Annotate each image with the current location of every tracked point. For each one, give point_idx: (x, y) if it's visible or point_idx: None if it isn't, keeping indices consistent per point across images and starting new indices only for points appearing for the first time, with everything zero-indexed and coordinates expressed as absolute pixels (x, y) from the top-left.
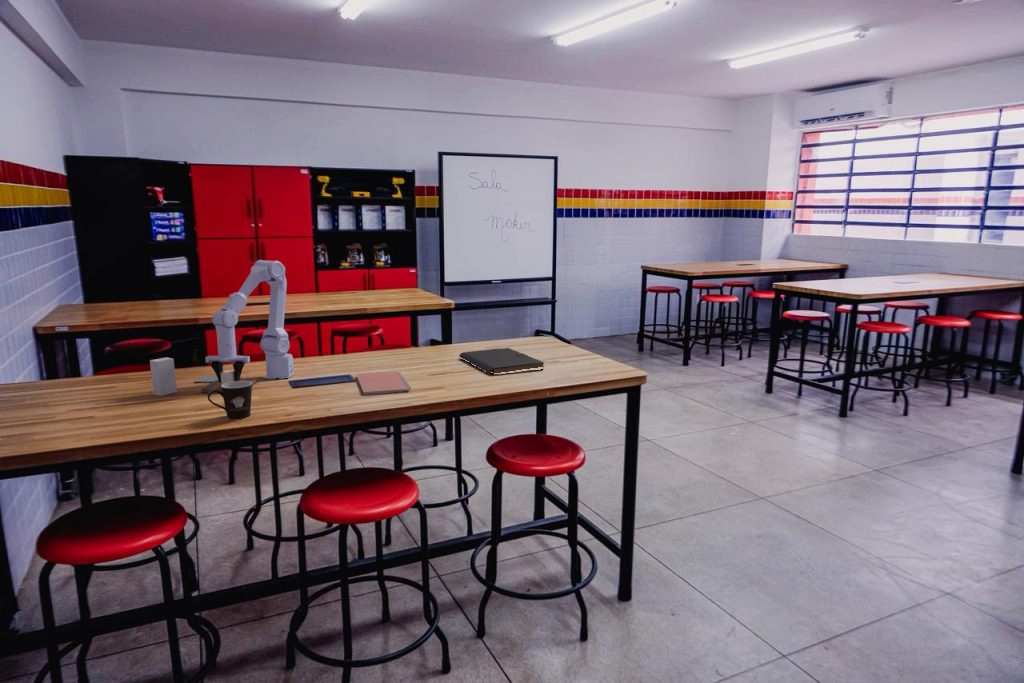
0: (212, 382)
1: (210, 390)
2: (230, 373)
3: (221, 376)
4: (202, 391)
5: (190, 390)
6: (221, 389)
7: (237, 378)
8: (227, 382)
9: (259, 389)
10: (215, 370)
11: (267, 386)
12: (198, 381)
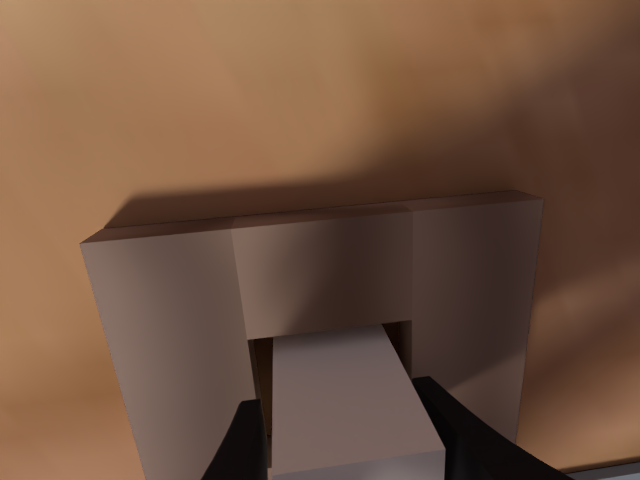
0: (513, 418)
1: (442, 203)
2: (299, 467)
3: (417, 411)
4: (515, 192)
5: (634, 265)
6: (329, 216)
7: (226, 436)
8: (333, 369)
9: (23, 370)
10: (541, 476)
11: (18, 465)
12: (637, 472)
